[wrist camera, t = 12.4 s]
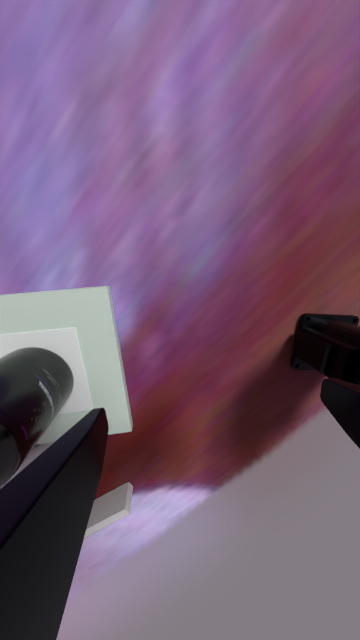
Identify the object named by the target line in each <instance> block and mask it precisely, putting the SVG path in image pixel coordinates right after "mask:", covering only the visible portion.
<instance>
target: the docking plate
mask: <svg viewBox="0 0 360 640" xmlns="http://www.w3.org/2000/svg"><path fill="white" fill-rule="evenodd" d="M27 347H38V348H43V349H47V350H50V351H52V352H54V353H56V354H58V355H59V356H60V357H62V358H63V359H64V360H65V361H66V362H67V364H68V365H69V367H70V369H71V371H72V374H73V378H74V385H73V390H72V393H71V395H70V397H69V398H68V400H67V401H66V403H65V404H64V406H63V407H62V408H61V410H60V411H59V413H58V414H57V416H56V417H55V418H54V420H53V421H52V423H51V424H50V425H49V427H48V428H47V430H46V431H45V432H44V434H43V435H42V437H41V438H40V439H39V441H38V442H37V444H44V443H51V442H54V441H56V440H57V439H59V438H60V437H61V436H62V435H63V434H64V433H66V432H67V431H68V430H69V429H70V428H71V427H72V426H74V425H75V424H76V423H77V422H78V421H79V420H81V419H82V418H83V417H84V416H85V415H86V414H88V413H89V412H90V411H91V410H92V409H95V408H104V409H105V411H106V416H107V420H108V426H109V430H108V435H110V434H117V433H124V432H132V427H133V423H132V417H131V410H130V404H129V398H128V392H127V386H126V380H125V374H124V368H123V362H122V356H121V350H120V344H119V338H118V332H117V326H116V320H115V314H114V308H113V302H112V296H111V290H110V286H99V287H87V288H75V289H63V290H51V291H39V292H27V293H15V294H2V295H0V358H1V357H3V356H5V355H7V354H9V353H11V352H13V351H15V350H18V349H21V348H27ZM37 444H36V445H37Z"/></svg>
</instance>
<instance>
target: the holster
mask: <svg viewBox="0 0 360 640" xmlns="http://www.w3.org/2000/svg"><path fill="white" fill-rule="evenodd" d="M54 442H55V441H54ZM54 442H51V443H44V444H40V445H38V446H37V447H35V448H33V449H32V451H31V452H30V453H29V455H28V456H27V458H26V459H25V460H24V462H23V463H22V465H21V466H20V467H19V469H18V470H17V471H16V473H15V474H14V475H13V476H12V478H13V477H14V476H16V475H17V474H18V473H19V472H20V471H21V470H23V469H24V468H25V467H26V466H27V465H28V464H30V463H31V462H32V461H33V460H34V459H35V458H37V457H38V456H39V455H40V454H41V453H42V452H43V451H45V450H46V449H47V448H48V447H49V446H50V445H52V444H53V443H54ZM12 478H11V479H12ZM11 479H10V480H11ZM10 480H9V481H10ZM9 481H8V482H9ZM4 485H5V484H4ZM4 485H3V486H4ZM3 486H2V487H3ZM2 487H1V488H2ZM132 491H133V486H132V484H131V483H130V482H127V483H125V484H123V485H121V486H119V487H117V488H116V489H114V490H112V491H110V492H108V493H106V494H104V495H102V496H101V497H99V498H97V499H95V500H94V503H93V506H92V510H91V514H90V517H89V521H88V525H87V528H86V532H85V536H84V538H85V537H87V536H89V535H91V534H93V533H95V532H97V531H98V530H100V529H102V528H104V527H106V526H108V525H110V524H112V523H114V522H116V521H117V520H119V519H121V518H123V517H125V516H127V515H129V514H130V508H131V499H132Z"/></svg>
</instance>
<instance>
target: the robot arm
mask: <svg viewBox="0 0 360 640" xmlns="http://www.w3.org/2000/svg"><path fill="white" fill-rule="evenodd" d="M306 317H308V318H307V320H306ZM358 322H359V318H358V317H357V316H353V315H333V314H310V313H305V314H303V315H302V317H301V321H300V325H299V330H298V334H297V338H296V343H295V347H294V352H293V356H292V361H291V367H292V368H293V369H295V370H317V371H318V372H320V373H322V374H324V375H325V376H327V377H328V379H324V380H323V381H322V386H321V394H320V397H321V400H322V402H323V404H324V405H325V406H326V407H327V409H328V410H329V411H330V413H331V414H332V415H333V417H334V418H335V419H336V420H337V422H338V423H339V424H340V426H341V427H342V428H343V430H344V431H345V432H346V433H347V434H348V436H349V437H350V438H351V439H352V441H353V442H354V443H355V444H356V445H357V446H358V447H359V448H360V327H359V326H357V325H358ZM296 364H297V365H296ZM295 365H296V366H295ZM108 430H109V426H108V420H107V416H106V411H105V409H104V408H95V409H92V410H91V411H90V412H89V413H88V414H86V415H85V416H84V417H83V418H82V419H81V420H79V421H78V422H77V423H76V424H75V425H74V426H72V427H71V428H70V429H69V430H68V431H67V432H66V433H64V434H63V435H62V436H61V437H60V438H59V439H57V440H56V441H55V442H54V443H53V444H52V445H50V446H49V447H48V448H47V449H46V450H45V451H43V452H42V453H41V454H40V455H39V456H38V457H37V458H35V459H34V460H33V461H32V462H31V463H30V464H28V465H27V466H26V467H25V468H24V469H23V470H21V471H20V472H19V473H18V474H17V475H16V476H14V477H13V478H12V479H11V480H10V481H9V482H7V483H6V484H5V485H4V486H3V487H2V488H0V640H56V638H57V635H58V631H59V627H60V624H61V620H62V616H63V613H64V609H65V605H66V602H67V598H68V594H69V591H70V587H71V583H72V580H73V576H74V572H75V569H76V565H77V561H78V558H79V554H80V550H81V547H82V543H83V539H84V536H85V532H86V528H87V525H88V521H89V517H90V514H91V510H92V506H93V503H94V499H95V495H96V492H97V488H98V484H99V480H100V476H101V472H102V466H103V461H104V455H105V449H106V443H107V437H108Z"/></svg>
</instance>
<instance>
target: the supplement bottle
mask: <svg viewBox="0 0 360 640" xmlns="http://www.w3.org/2000/svg"><path fill="white" fill-rule="evenodd" d="M73 385H74V378H73V374H72V371H71V369H70V367H69V365H68V364H67V362H66V361H65V360H64V359H63V358H62V357H60V356H59V355H58V354H56V353H54V352H52V351H50V350H47V349H43V348H38V347H27V348H21V349H18V350H15V351H13V352H11V353H9V354H7V355H5V356H3V357H1V358H0V488H1V487H2V486H3V485H4V484H6V483H7V482H8V481H9V480H10V479H11V478H12V476H13V475H14V474H15V473H16V471H17V470H18V469H19V467H20V466H21V465H22V463H23V462H24V460H25V459H26V458H27V456H28V455H29V453H30V452H31V451H32V449H33V448H34V446H35V445H36V444H37V442H38V441H39V439H40V438H41V437H42V435H43V434H44V432H45V431H46V430H47V428H48V427H49V425H50V424H51V423H52V421H53V420H54V418H55V417H56V416H57V414H58V413H59V411H60V410H61V408H62V407H63V406H64V404H65V403H66V401H67V400H68V398H69V397H70V395H71V393H72V390H73Z"/></svg>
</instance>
